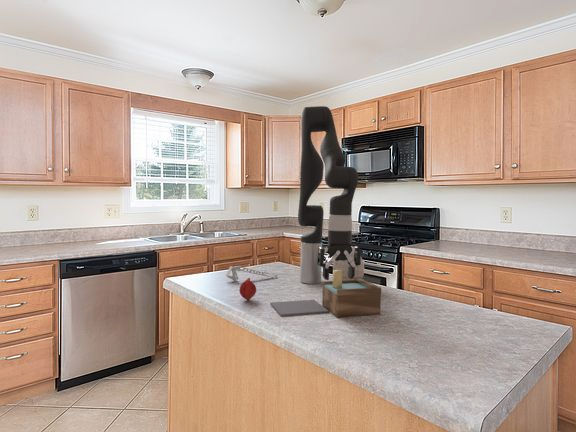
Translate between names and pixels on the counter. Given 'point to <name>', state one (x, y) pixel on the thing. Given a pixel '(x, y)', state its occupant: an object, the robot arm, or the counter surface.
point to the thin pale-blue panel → (338, 283)
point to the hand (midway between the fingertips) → (338, 279)
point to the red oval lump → (247, 289)
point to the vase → (344, 268)
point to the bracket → (244, 271)
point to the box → (353, 300)
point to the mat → (298, 307)
